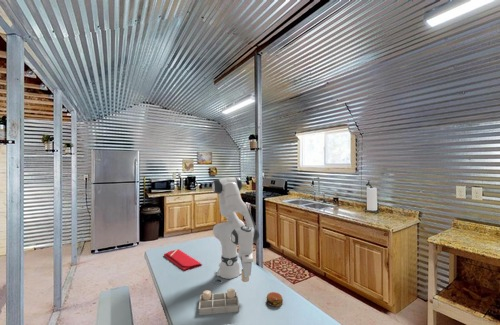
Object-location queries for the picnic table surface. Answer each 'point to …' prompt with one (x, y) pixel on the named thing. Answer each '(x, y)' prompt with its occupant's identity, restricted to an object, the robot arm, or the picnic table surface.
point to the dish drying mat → (182, 260)
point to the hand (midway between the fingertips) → (245, 276)
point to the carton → (218, 304)
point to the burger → (274, 299)
